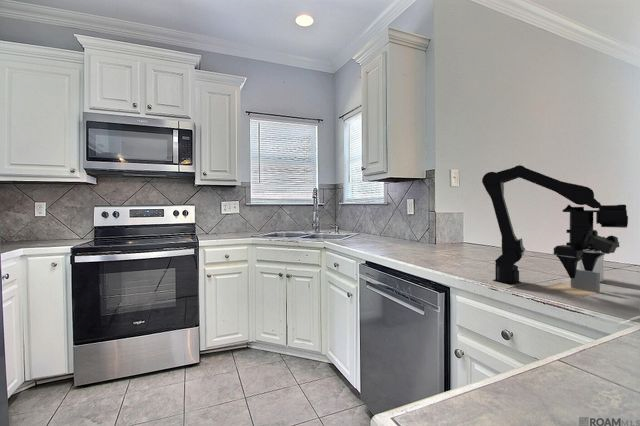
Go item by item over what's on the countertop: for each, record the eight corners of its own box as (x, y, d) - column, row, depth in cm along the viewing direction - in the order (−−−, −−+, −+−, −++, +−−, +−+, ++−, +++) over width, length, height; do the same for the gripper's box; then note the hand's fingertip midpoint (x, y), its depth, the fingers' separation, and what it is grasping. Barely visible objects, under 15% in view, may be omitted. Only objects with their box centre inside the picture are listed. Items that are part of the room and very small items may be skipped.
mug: (594, 275, 118) (595, 247, 118) (607, 283, 107) (608, 252, 107) (566, 274, 122) (566, 246, 121) (576, 281, 111) (576, 251, 111)
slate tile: (570, 287, 102) (570, 268, 102) (573, 286, 103) (573, 268, 103) (596, 292, 96) (597, 273, 96) (599, 292, 97) (599, 272, 97)
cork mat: (540, 288, 104) (540, 287, 104) (560, 283, 108) (560, 282, 108) (583, 298, 93) (583, 296, 93) (603, 292, 97) (603, 291, 97)
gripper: (596, 230, 87) (596, 286, 88) (629, 226, 95) (629, 278, 96) (552, 227, 97) (552, 278, 98) (586, 224, 105) (585, 271, 106)
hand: (580, 276), depth 99 cm, fingers open, 9 cm apart
